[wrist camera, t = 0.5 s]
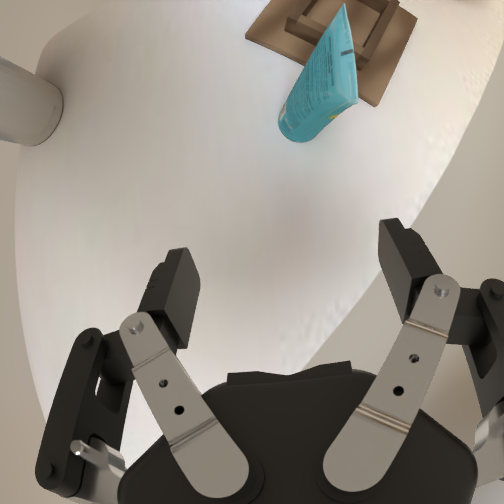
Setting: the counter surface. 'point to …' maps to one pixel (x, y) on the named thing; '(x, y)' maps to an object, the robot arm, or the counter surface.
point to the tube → (322, 84)
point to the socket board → (362, 30)
